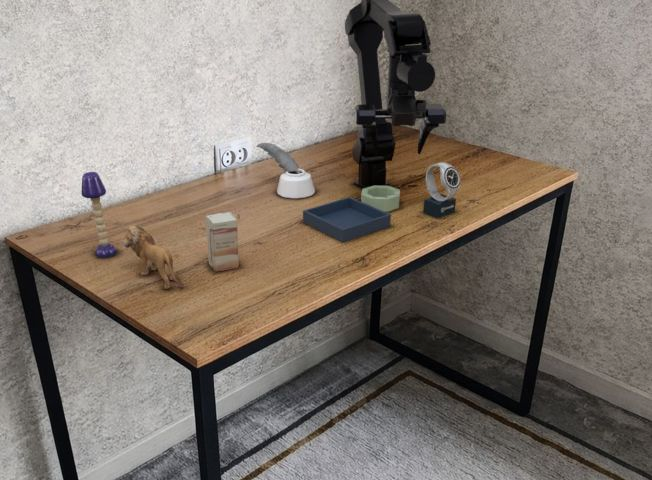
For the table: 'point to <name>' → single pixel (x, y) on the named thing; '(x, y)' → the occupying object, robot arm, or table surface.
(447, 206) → the watch
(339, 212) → the tray
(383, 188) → the ring
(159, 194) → the table surface
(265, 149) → the inkwell
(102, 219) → the toy lamp
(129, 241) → the lion figurine
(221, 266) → the small carton box
